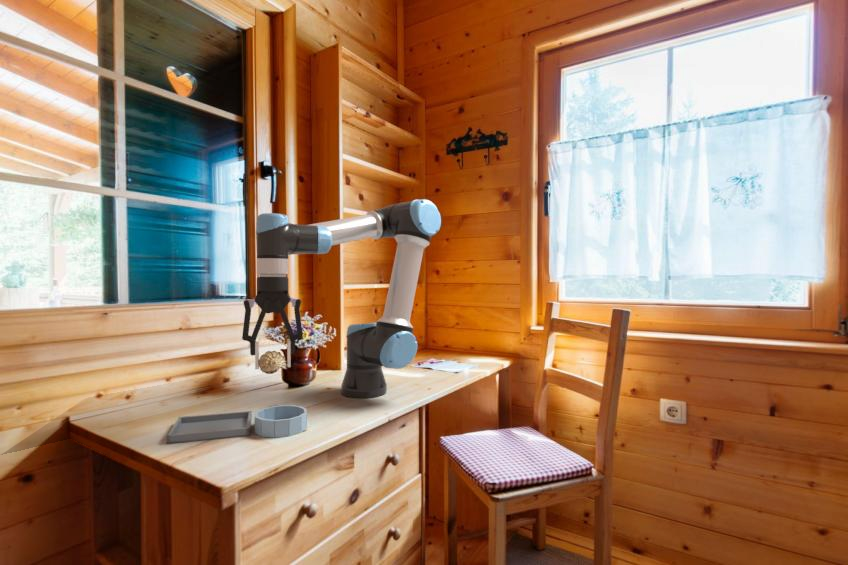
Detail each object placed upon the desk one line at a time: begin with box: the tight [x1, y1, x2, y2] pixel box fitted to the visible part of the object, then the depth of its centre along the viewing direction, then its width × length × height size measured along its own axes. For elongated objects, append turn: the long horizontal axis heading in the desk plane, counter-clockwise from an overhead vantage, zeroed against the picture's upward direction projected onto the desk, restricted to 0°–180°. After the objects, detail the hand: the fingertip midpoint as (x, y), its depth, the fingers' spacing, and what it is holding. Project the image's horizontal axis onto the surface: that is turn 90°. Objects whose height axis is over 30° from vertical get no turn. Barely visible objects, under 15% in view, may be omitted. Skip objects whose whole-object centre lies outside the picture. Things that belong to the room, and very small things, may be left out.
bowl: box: [254, 404, 308, 438], centre depth 109 cm, size 12×12×4 cm
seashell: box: [259, 350, 288, 375], centre depth 109 cm, size 8×6×10 cm
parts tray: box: [166, 410, 253, 445], centre depth 108 cm, size 17×14×2 cm
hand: (273, 366), depth 109 cm, fingers closed on seashell, 7 cm apart
